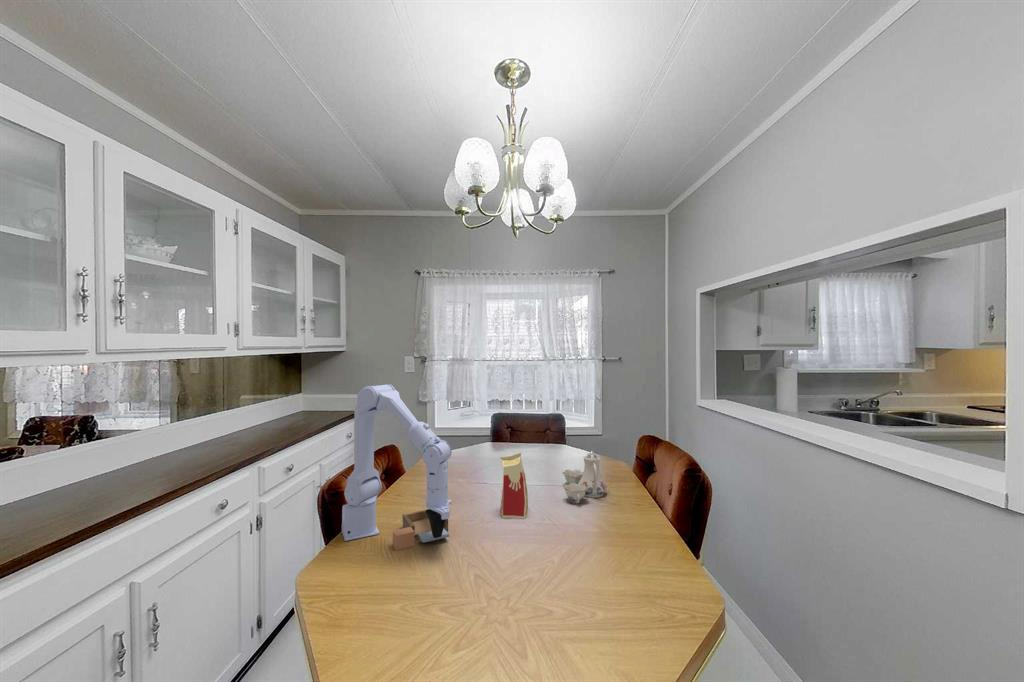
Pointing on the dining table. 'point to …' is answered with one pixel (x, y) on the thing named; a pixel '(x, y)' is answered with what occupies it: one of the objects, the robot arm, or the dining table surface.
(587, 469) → the chinaware
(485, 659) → the dining table surface
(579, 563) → the dining table surface
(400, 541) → the orange brown block
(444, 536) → the panel
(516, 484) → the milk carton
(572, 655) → the dining table surface
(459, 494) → the dining table surface
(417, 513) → the crate
